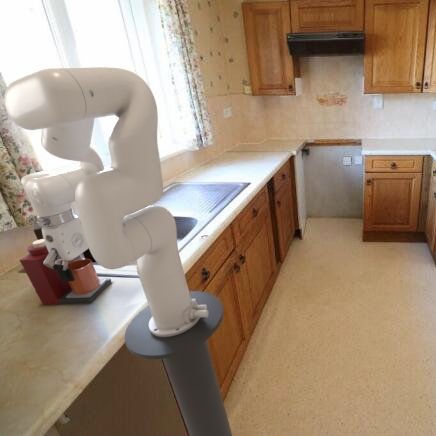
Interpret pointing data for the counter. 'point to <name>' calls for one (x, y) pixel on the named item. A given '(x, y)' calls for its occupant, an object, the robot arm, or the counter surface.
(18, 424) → the counter surface
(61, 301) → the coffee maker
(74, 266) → the cup
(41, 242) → the brew button
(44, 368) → the counter surface
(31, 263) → the column
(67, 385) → the counter surface
